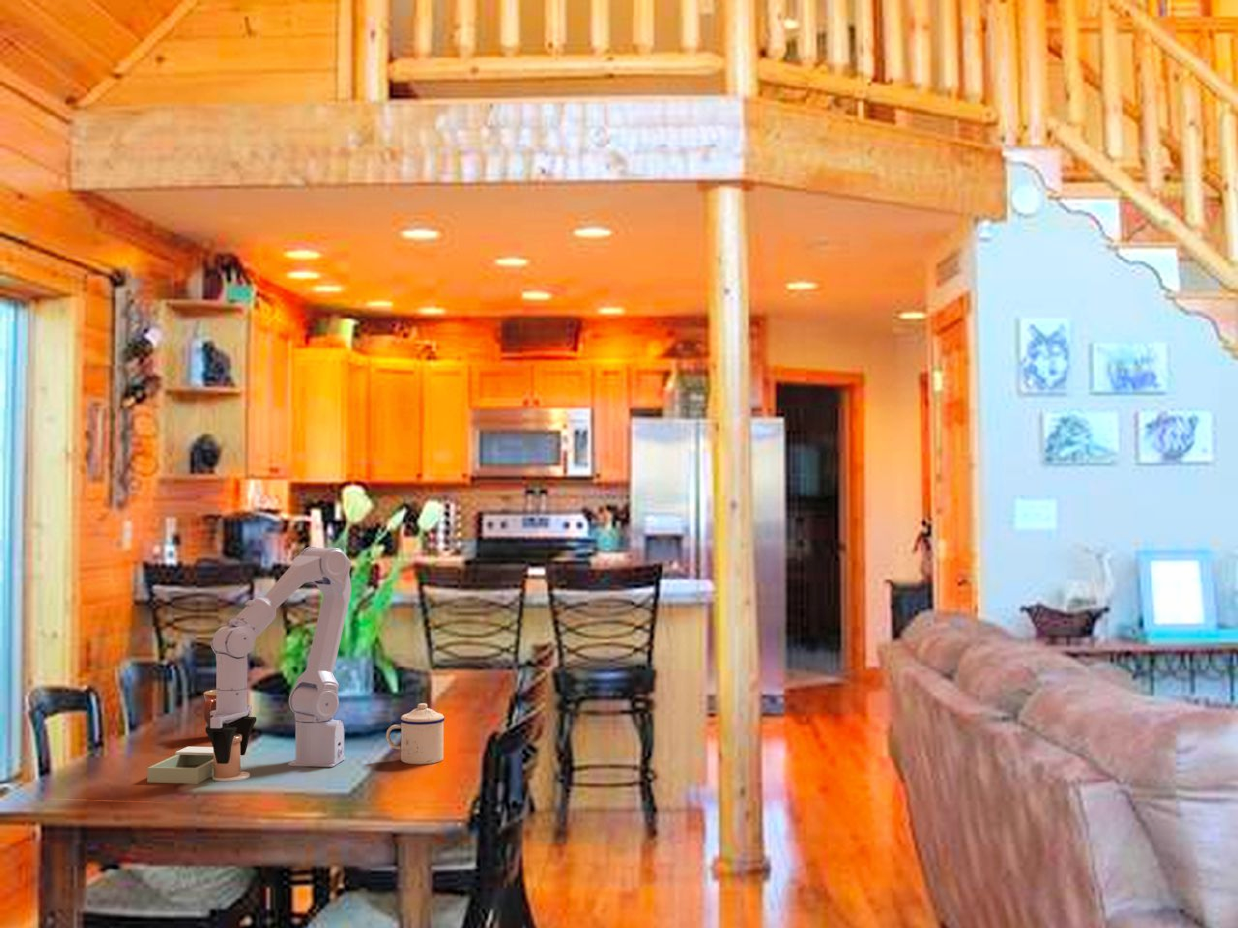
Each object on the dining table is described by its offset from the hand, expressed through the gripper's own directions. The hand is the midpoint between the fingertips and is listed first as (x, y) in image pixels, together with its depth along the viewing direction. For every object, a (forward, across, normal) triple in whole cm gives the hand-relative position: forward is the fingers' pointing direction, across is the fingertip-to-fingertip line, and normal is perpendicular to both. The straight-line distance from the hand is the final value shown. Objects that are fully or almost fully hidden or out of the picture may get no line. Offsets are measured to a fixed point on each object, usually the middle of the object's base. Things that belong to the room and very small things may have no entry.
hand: (231, 759), depth 240 cm
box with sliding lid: (+4, -2, -9) cm, 10 cm away
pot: (+3, 0, -1) cm, 3 cm away
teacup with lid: (+4, -20, +31) cm, 37 cm away
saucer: (+4, 0, 0) cm, 4 cm away
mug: (+4, -37, -19) cm, 42 cm away
